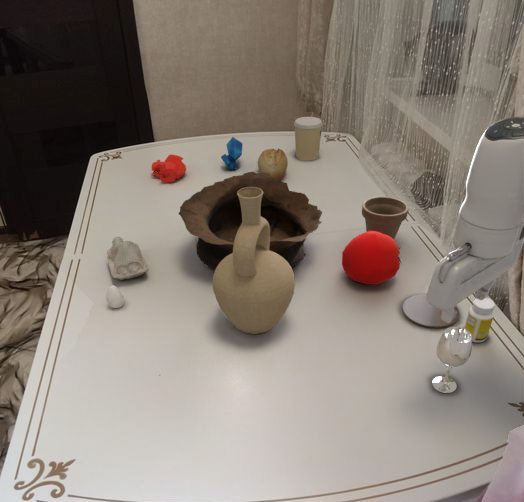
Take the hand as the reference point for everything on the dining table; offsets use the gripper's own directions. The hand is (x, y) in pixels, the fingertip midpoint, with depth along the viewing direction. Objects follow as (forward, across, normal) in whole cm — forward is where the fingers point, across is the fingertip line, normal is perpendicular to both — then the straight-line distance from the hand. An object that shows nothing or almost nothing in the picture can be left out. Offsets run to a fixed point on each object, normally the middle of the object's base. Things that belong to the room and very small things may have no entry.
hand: (464, 308), depth 90 cm
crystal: (+18, +36, +109) cm, 117 cm away
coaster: (+18, +17, +15) cm, 29 cm away
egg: (+18, -33, +64) cm, 74 cm away
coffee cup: (+18, +60, +98) cm, 117 cm away
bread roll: (+18, +41, +95) cm, 105 cm away
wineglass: (+18, 0, 0) cm, 18 cm away
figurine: (+18, -23, +75) cm, 81 cm away
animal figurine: (+18, +17, +119) cm, 121 cm away
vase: (+18, -14, +38) cm, 44 cm away
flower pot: (+18, +33, +43) cm, 57 cm away
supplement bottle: (+18, +17, +4) cm, 25 cm away
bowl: (+18, +4, +61) cm, 63 cm away
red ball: (+18, +18, +33) cm, 42 cm away
